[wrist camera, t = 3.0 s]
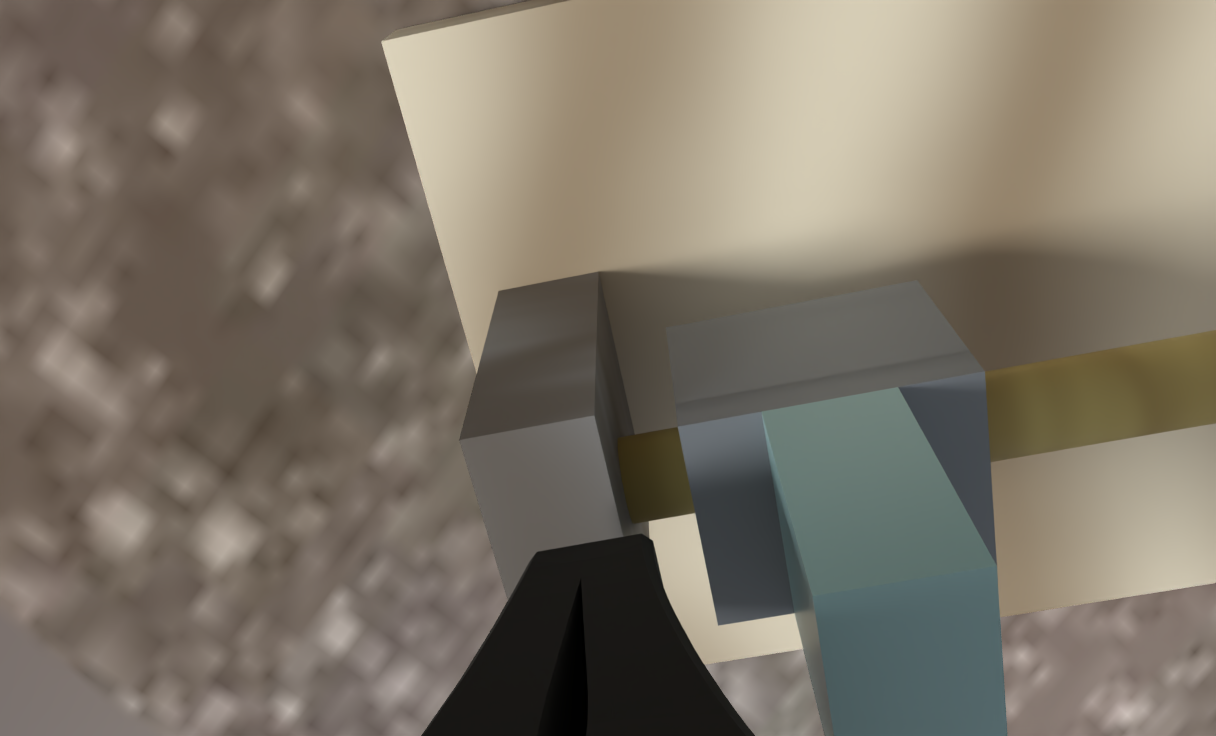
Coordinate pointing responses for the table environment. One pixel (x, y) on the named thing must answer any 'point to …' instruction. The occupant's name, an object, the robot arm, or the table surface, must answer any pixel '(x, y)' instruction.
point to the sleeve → (852, 501)
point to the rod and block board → (833, 254)
